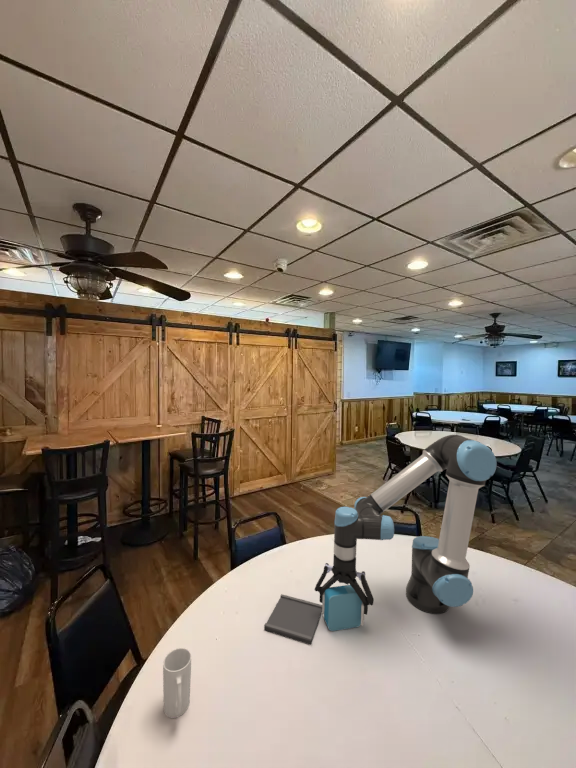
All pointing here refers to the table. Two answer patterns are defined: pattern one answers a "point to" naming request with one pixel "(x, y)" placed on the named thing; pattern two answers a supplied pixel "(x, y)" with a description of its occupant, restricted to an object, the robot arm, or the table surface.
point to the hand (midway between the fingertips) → (342, 616)
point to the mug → (176, 682)
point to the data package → (342, 608)
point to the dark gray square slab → (294, 619)
